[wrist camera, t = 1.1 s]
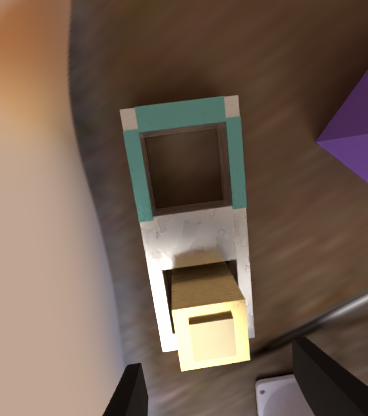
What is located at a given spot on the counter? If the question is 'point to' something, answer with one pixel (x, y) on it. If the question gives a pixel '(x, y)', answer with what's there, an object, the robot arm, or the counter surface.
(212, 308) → the beige hollow block
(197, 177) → the counter surface
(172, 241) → the white compartment tray
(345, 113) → the bracket
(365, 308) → the counter surface
